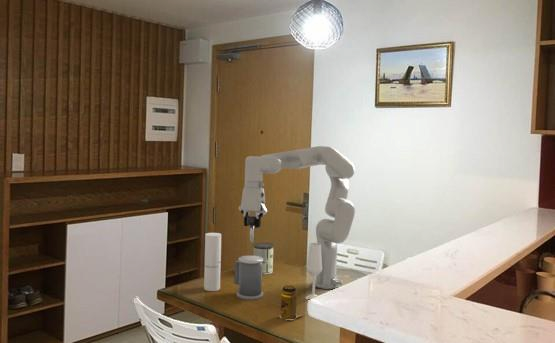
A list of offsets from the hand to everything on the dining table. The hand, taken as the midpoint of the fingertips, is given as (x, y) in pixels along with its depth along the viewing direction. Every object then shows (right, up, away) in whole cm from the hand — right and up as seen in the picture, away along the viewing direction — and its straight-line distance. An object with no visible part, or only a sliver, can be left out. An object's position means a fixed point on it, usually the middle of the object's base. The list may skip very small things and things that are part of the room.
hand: (252, 226), depth 214 cm
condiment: (+16, -33, -21) cm, 43 cm away
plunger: (0, -7, +1) cm, 7 cm away
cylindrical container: (-19, -30, +10) cm, 36 cm away
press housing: (-2, -31, +3) cm, 31 cm away
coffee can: (+3, -28, +40) cm, 49 cm away
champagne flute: (+27, -32, +2) cm, 42 cm away
